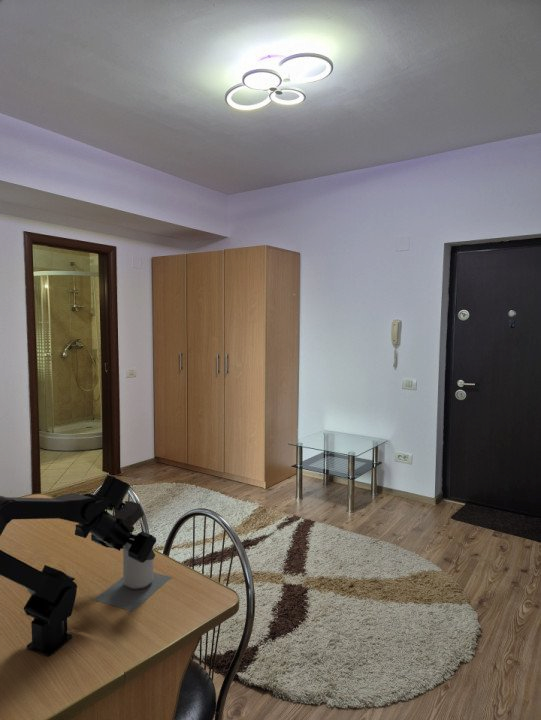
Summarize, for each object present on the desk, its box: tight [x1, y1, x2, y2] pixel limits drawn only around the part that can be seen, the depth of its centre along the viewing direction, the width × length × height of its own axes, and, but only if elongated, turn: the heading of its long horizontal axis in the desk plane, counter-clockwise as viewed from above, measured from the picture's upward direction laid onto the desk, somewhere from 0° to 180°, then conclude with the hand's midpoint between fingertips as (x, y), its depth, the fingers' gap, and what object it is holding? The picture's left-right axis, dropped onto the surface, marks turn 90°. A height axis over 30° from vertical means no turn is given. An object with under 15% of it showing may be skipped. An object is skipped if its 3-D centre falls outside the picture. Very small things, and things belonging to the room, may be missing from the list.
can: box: [122, 533, 154, 589], centre depth 121 cm, size 8×8×12 cm
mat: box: [93, 571, 173, 612], centre depth 120 cm, size 16×12×1 cm
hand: (141, 552), depth 122 cm, fingers open, 9 cm apart
